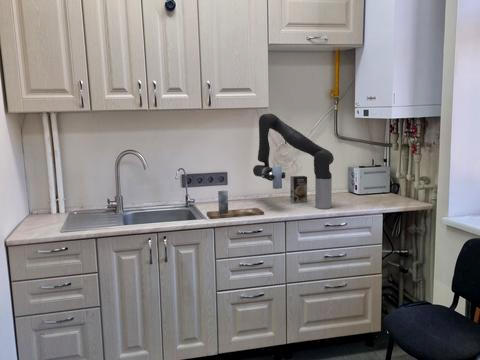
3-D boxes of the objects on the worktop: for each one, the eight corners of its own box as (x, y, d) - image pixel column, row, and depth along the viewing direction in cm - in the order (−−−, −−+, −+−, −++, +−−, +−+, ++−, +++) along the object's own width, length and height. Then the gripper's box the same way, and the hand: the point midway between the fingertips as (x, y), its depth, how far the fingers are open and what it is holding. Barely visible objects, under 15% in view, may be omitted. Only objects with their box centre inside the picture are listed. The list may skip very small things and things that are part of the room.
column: (275, 187, 250) (274, 166, 248) (283, 187, 247) (283, 166, 246) (271, 188, 245) (270, 167, 244) (279, 189, 243) (279, 167, 241)
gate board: (257, 210, 252) (257, 187, 250) (264, 214, 240) (263, 190, 238) (206, 214, 245) (205, 190, 243) (210, 219, 233) (209, 194, 231)
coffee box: (294, 203, 269) (293, 177, 267) (290, 201, 276) (289, 176, 273) (307, 202, 272) (307, 176, 269) (303, 200, 278) (303, 175, 276)
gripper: (257, 168, 257) (266, 171, 241) (280, 166, 260) (290, 169, 244) (258, 180, 258) (266, 184, 242) (281, 179, 261) (291, 182, 245)
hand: (278, 177), depth 243 cm, fingers closed on column, 5 cm apart
